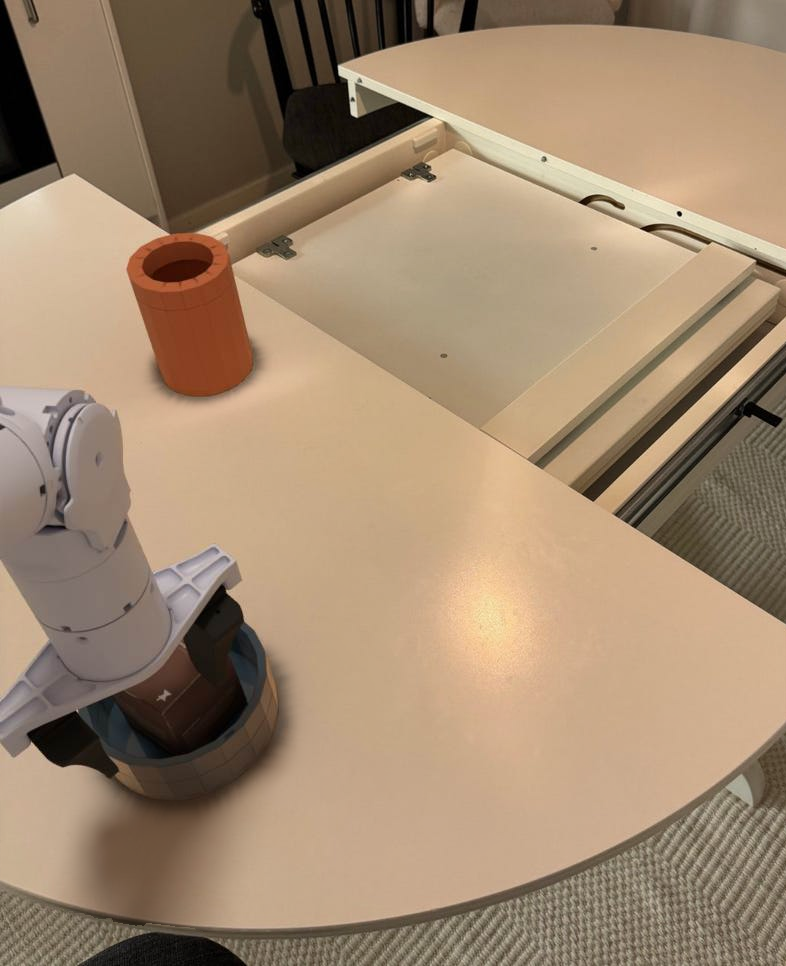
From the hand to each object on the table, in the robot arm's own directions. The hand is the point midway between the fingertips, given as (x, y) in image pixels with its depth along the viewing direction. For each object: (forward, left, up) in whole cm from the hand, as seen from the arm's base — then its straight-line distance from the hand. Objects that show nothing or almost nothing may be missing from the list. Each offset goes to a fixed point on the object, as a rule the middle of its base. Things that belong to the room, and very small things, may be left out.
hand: (159, 718), depth 57 cm
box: (+3, +4, -9) cm, 10 cm away
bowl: (+3, +4, -9) cm, 11 cm away
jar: (+27, +33, -9) cm, 44 cm away
